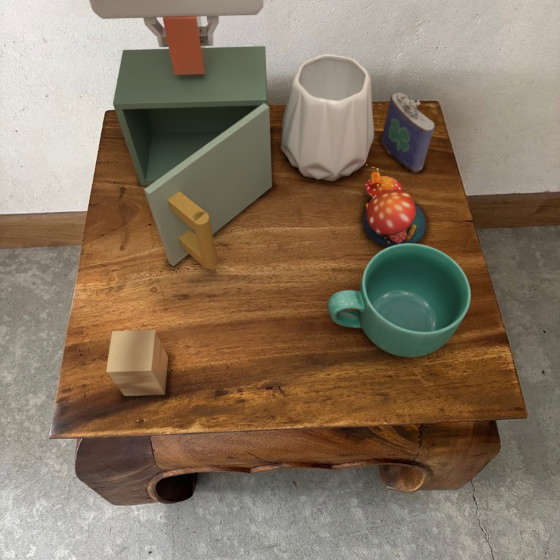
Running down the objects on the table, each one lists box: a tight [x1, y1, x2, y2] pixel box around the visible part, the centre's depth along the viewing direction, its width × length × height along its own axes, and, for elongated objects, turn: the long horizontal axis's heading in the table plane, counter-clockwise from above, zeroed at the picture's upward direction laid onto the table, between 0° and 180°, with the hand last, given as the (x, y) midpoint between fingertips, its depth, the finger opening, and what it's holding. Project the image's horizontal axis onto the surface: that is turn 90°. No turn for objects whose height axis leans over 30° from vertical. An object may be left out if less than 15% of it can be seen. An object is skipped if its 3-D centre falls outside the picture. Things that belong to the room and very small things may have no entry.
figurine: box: [362, 163, 427, 248], centre depth 77 cm, size 12×9×8 cm
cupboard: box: [112, 45, 269, 186], centre depth 81 cm, size 11×20×16 cm, turn 92°
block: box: [162, 16, 206, 75], centre depth 69 cm, size 4×4×8 cm
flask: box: [380, 91, 436, 173], centre depth 83 cm, size 9×3×11 cm, turn 30°
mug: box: [327, 243, 472, 358], centre depth 68 cm, size 17×13×10 cm
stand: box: [105, 329, 169, 397], centre depth 65 cm, size 5×5×8 cm
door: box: [143, 103, 273, 270], centre depth 73 cm, size 7×20×16 cm, turn 136°
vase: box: [280, 53, 375, 182], centre depth 81 cm, size 14×14×15 cm
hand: (186, 43), depth 70 cm, fingers closed on block, 4 cm apart
